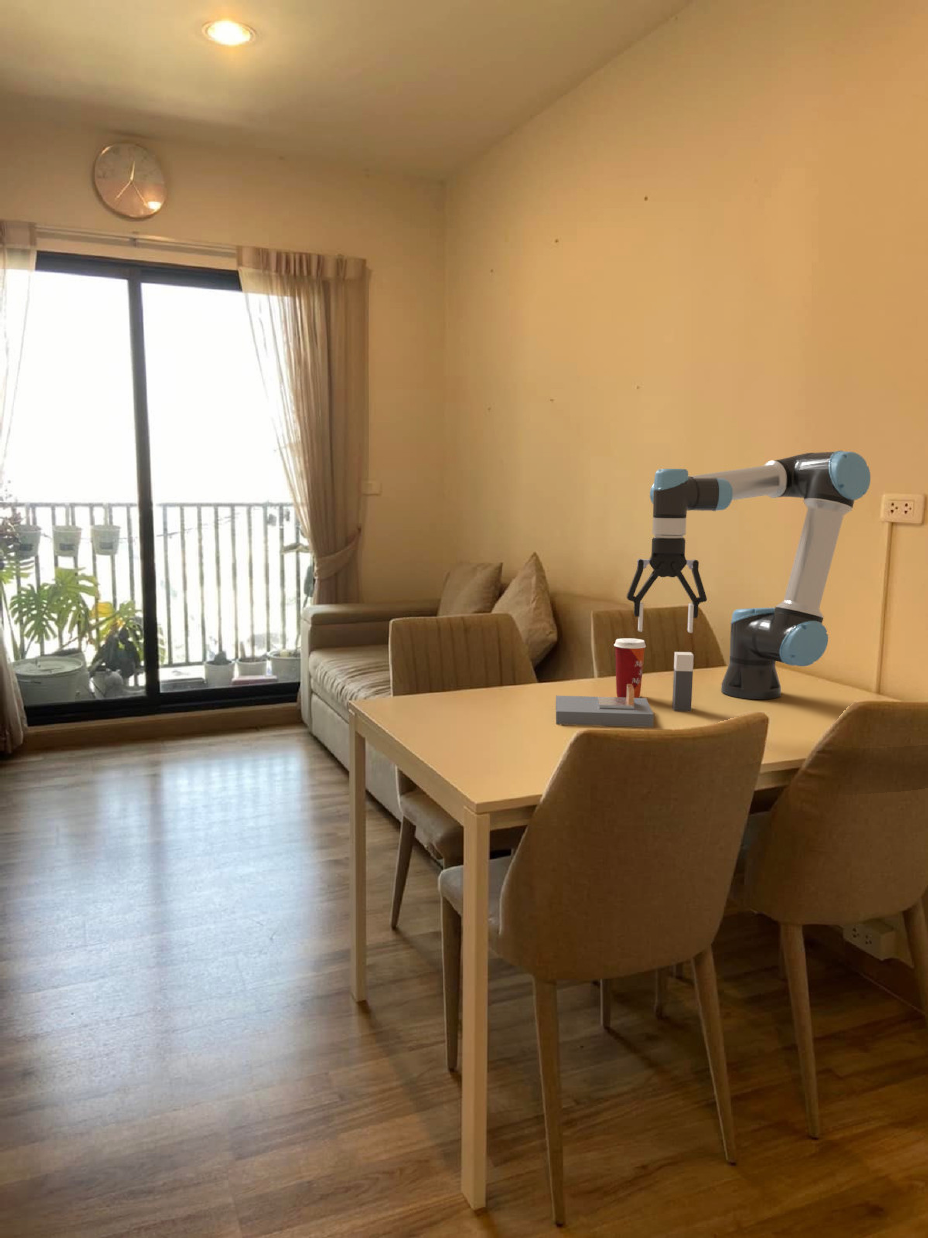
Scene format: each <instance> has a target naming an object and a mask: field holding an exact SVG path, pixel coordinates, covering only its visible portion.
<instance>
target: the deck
mask: <svg viewBox="0 0 928 1238" xmlns="http://www.w3.org/2000/svg"><path fill="white" fill-rule="evenodd" d="M598 697H599V696H586V695H585V696H580V695H555V724H556V725H571V726H572V725H574V726H576V725H577V726H605V727H607V726H609V727H610V726H612V727H642V728H646V727H647V728H648V727H649V728H653V727H654V713H653V710H652V708H651V706H650V704H649V702H648V699H647V697H640V698H634V709H616V708H599V704H598ZM620 698H624V697H620Z"/></svg>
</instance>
